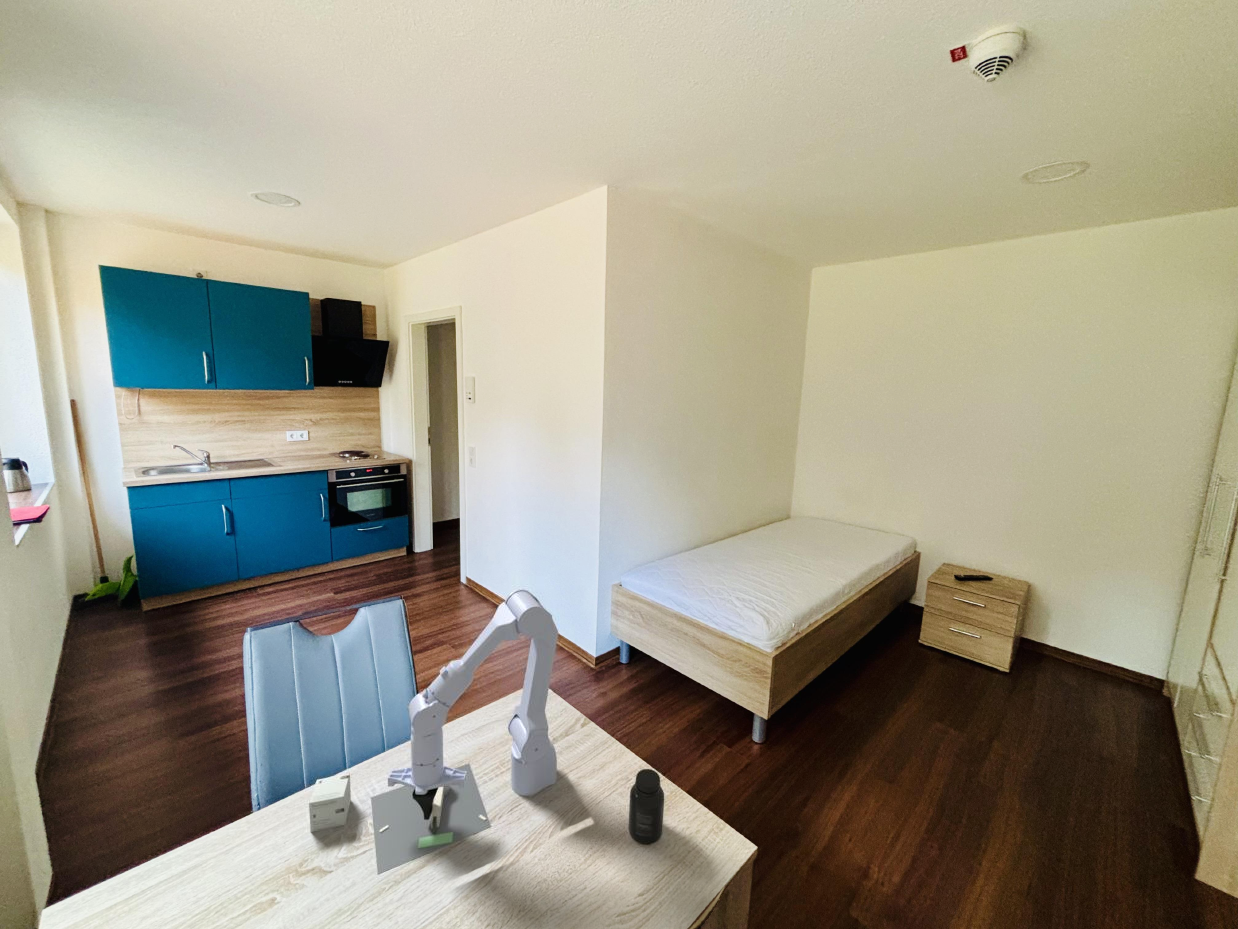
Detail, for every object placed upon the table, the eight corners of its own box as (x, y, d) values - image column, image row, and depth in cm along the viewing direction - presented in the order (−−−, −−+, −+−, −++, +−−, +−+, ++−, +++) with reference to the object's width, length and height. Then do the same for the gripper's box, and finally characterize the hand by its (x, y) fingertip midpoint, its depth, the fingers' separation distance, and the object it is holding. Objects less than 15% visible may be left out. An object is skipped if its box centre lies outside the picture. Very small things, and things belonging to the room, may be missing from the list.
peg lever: (433, 785, 105) (433, 773, 104) (451, 783, 105) (450, 771, 105) (424, 837, 93) (423, 824, 92) (444, 834, 94) (443, 820, 93)
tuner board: (469, 767, 111) (469, 762, 111) (491, 831, 96) (491, 825, 96) (371, 801, 101) (370, 796, 101) (377, 879, 86) (377, 873, 86)
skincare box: (310, 837, 93) (307, 803, 92) (318, 810, 99) (316, 778, 98) (346, 829, 95) (344, 796, 94) (352, 803, 101) (350, 772, 99)
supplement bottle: (669, 831, 98) (672, 778, 96) (647, 854, 93) (650, 799, 91) (643, 809, 102) (646, 759, 100) (620, 830, 97) (623, 777, 95)
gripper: (379, 770, 90) (382, 833, 92) (459, 771, 90) (459, 834, 93) (395, 742, 97) (397, 801, 99) (469, 743, 97) (469, 802, 99)
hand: (428, 815), depth 96 cm, fingers closed
